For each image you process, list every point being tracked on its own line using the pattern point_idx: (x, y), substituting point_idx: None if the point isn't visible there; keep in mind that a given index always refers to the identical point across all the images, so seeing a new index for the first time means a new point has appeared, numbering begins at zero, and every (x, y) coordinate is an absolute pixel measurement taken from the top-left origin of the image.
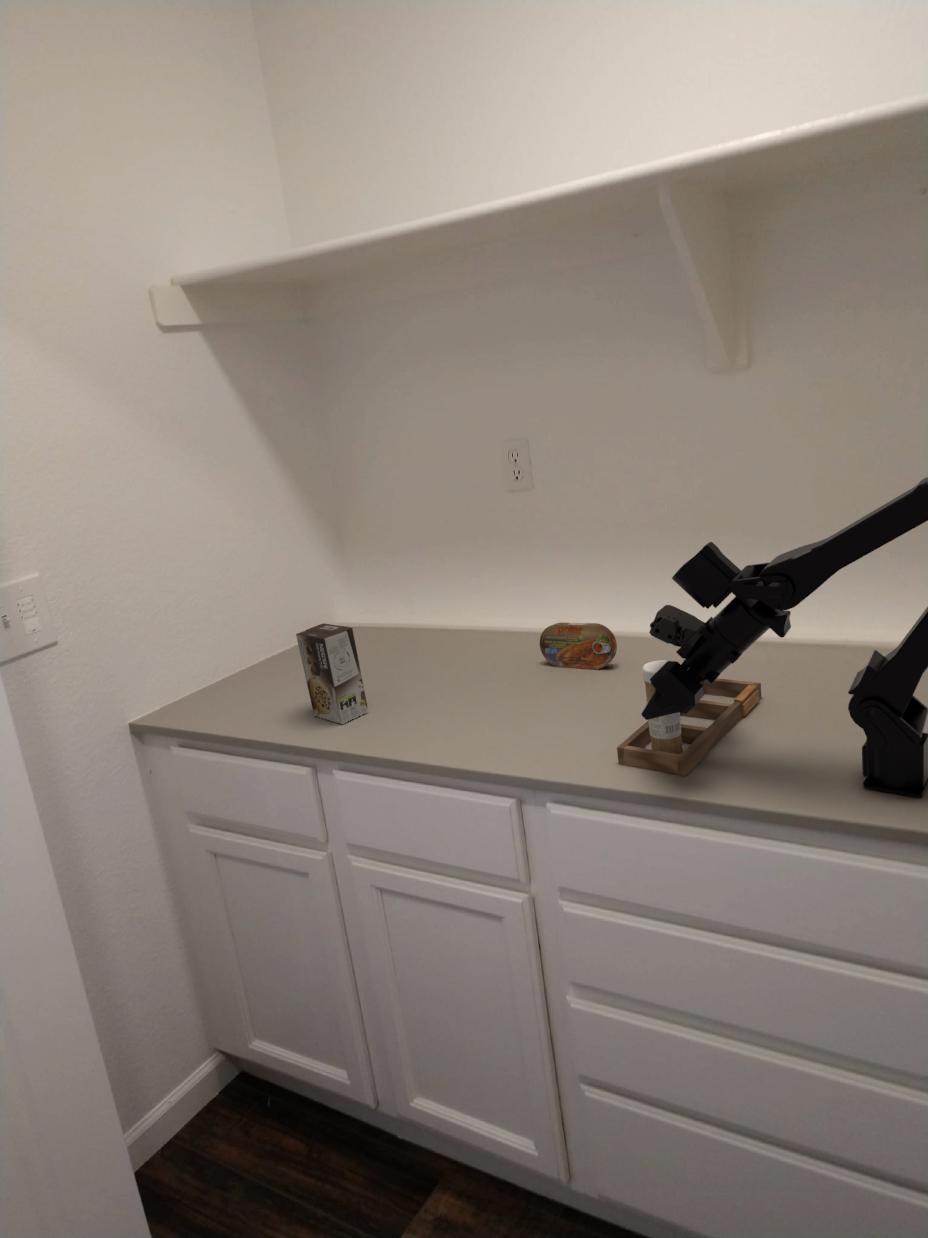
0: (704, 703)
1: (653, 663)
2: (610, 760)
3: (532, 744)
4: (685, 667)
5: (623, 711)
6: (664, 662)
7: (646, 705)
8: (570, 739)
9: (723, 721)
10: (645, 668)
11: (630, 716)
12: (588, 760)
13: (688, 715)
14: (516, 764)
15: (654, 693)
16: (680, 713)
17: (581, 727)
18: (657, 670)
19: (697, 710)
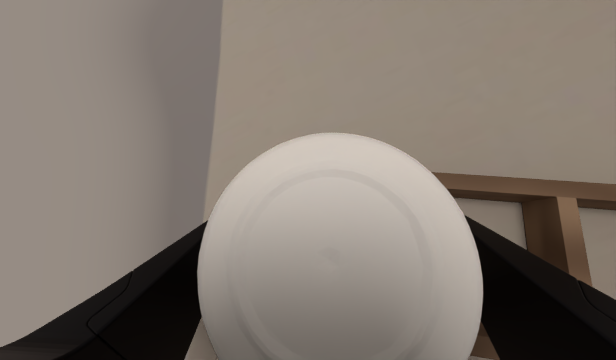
0: (568, 269)
1: (367, 193)
2: None
3: (306, 22)
4: (585, 356)
5: (486, 90)
6: (416, 288)
7: (173, 243)
8: (339, 62)
9: (478, 354)
10: (251, 172)
11: (469, 111)
12: (276, 121)
13: (525, 221)
14: (240, 36)
15: (52, 323)
16: (525, 202)
17: (389, 56)
18: (214, 289)
19: (542, 245)
